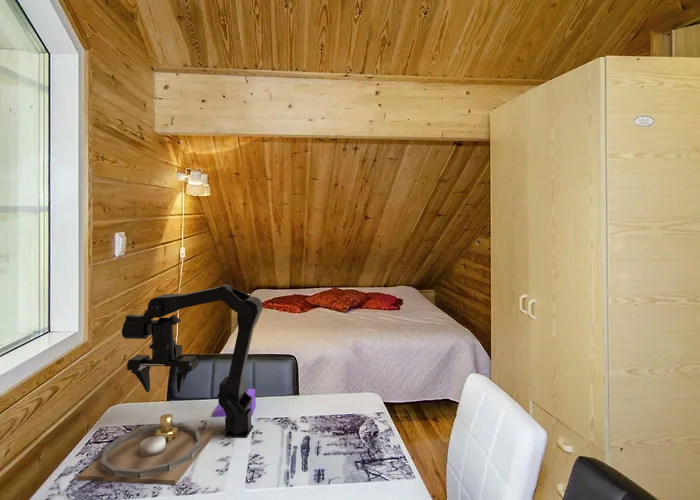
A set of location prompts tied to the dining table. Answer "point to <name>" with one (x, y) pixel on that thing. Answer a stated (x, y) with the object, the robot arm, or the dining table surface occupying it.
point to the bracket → (251, 392)
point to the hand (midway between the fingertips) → (163, 392)
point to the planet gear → (167, 428)
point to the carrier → (148, 456)
